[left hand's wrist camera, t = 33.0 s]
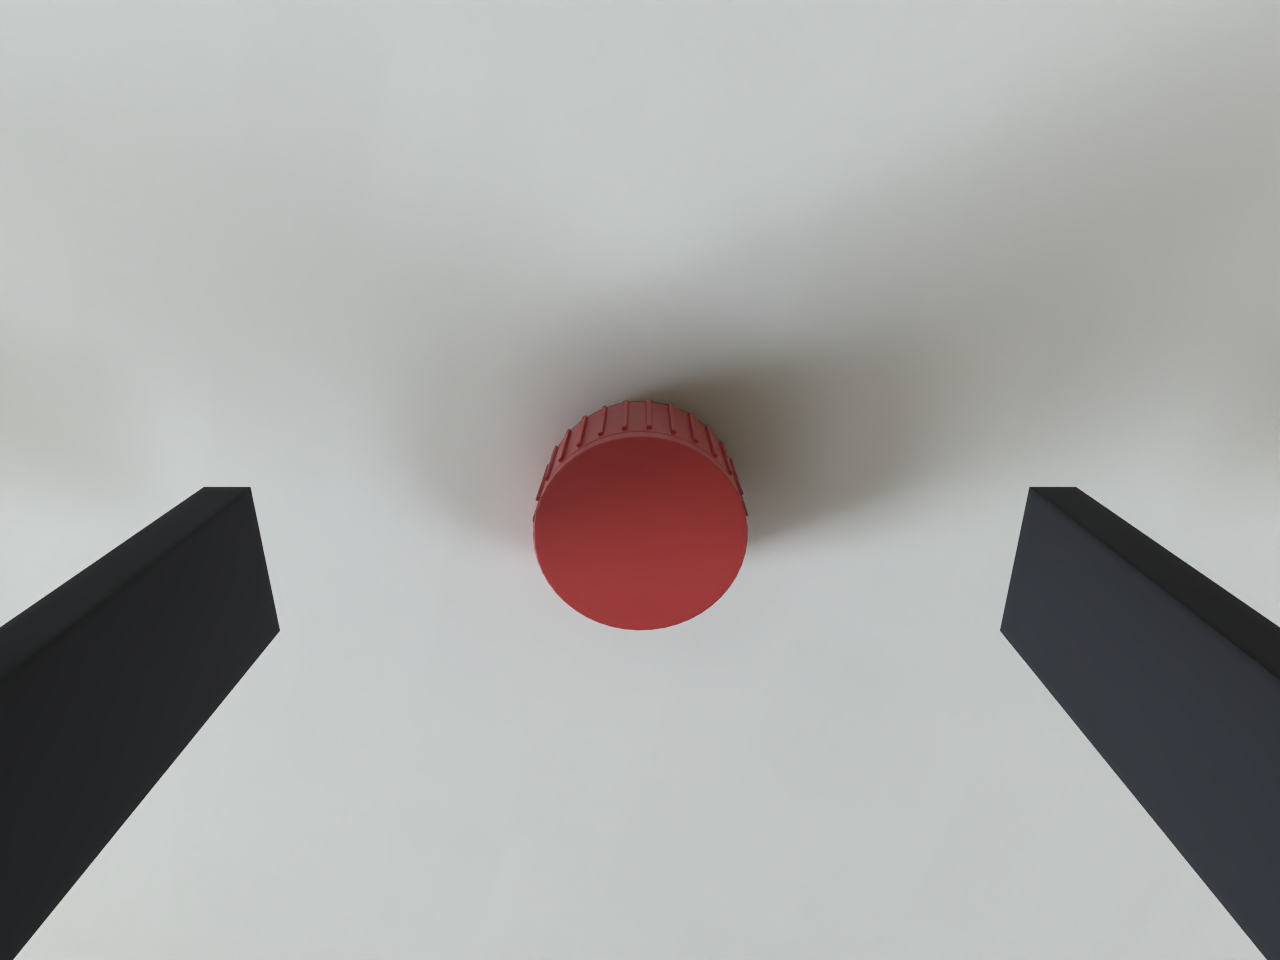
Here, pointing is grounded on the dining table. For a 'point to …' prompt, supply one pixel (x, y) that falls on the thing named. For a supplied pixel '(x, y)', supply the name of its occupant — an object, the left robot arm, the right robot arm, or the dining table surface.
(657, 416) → the cap
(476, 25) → the dining table surface
